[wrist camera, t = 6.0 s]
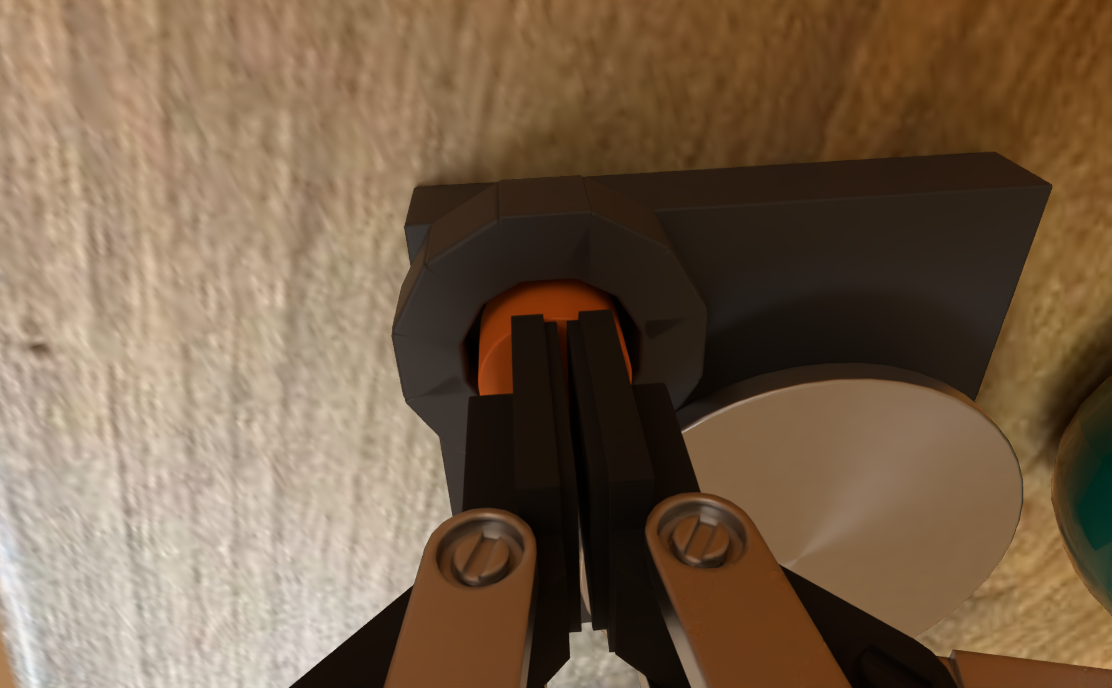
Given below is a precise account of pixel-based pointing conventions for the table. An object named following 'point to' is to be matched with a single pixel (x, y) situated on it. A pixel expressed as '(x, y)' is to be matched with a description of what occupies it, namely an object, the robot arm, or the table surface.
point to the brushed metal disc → (862, 483)
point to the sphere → (1087, 493)
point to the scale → (725, 272)
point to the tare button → (556, 305)
